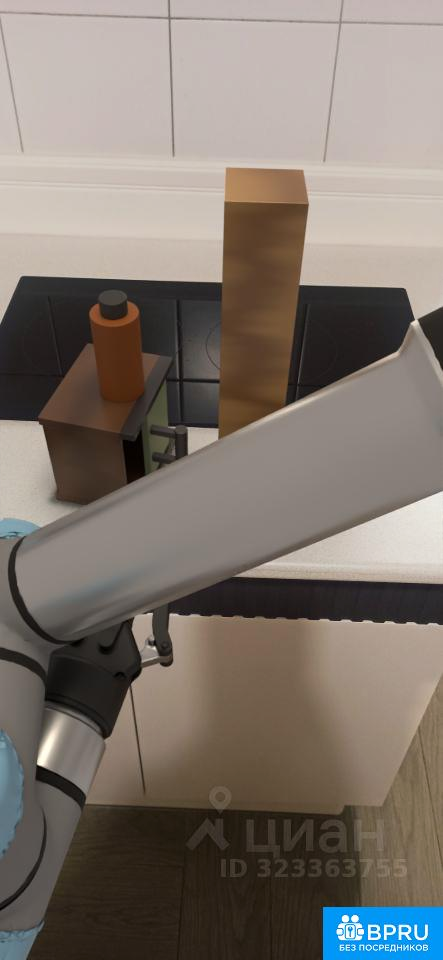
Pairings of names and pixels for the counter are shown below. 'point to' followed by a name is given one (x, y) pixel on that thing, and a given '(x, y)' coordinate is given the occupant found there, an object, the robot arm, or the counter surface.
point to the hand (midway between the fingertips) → (159, 496)
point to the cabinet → (98, 430)
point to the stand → (259, 290)
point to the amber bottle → (117, 347)
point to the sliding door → (161, 435)
